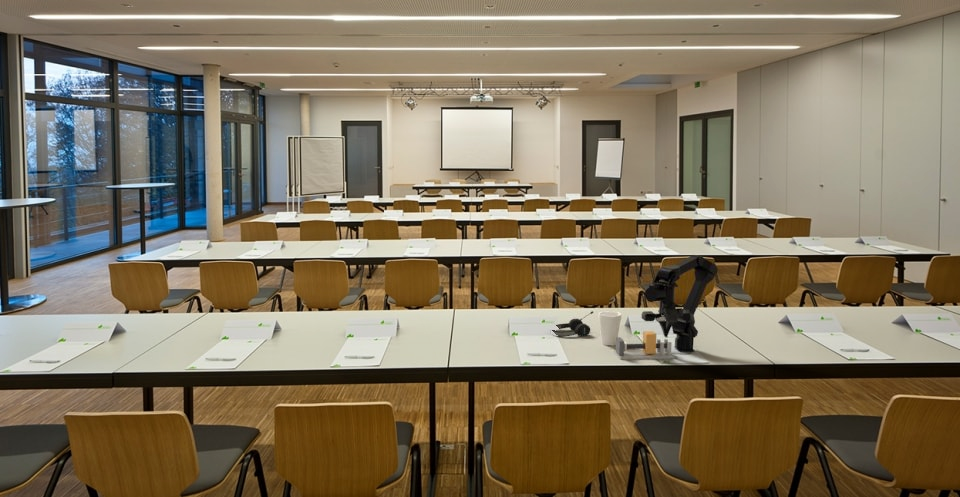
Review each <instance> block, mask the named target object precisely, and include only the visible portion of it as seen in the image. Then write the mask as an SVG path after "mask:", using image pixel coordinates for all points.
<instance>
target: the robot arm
mask: <svg viewBox="0 0 960 497" xmlns="http://www.w3.org/2000/svg"><path fill="white" fill-rule="evenodd" d="M693 269H694V271H693V272H694V281H693V284H692V286H691V289H690V291H689V293H688V296H687V298H686V300H685V302H684V304H683V307H676V301H675V292H676V291H675V290H676V288H677V287H679V284H677V283H676V282H678V281H679V280H680V279H681V277H682V275H684V274H686V273H687V272H689V271H691V270H693ZM717 273H718V267H717V264H716V263H715V262H711V261H710V260H708V259H707V258H706V259H705V258H704V257H703V256H702V255H696V254H691V255H689V257H687V258H685V259H683V260H681V261H679V262H677V263H676V264H672V265H666V266H665V265H664V266H662V267H661V266H660V268H659V269H658V270H657V273H656V274H655V277H654V279H653V281H652V283H651V284H648V288H646V289H645V292H644V297H645V300H646V301H648V302H649V303H655V302H658V303H659V304H658V306H659V307H658V311H657V312H658V313H655V312H653V311H651V310H650V311H649V310H648V311H646V310H645V311H642V313H641V319H642V320H643V321H644V322H654V321H656V322H657V323H659V325H660V328H661V331H662V333H663V336H664V337H665V338H668V336H669V333H670V331H671V329H672V333H673V335H676V337H675V338H674V349H675V350H677V351H678V352H695V349H694V341H695V340H694V338H696V337H697V336H698V334H699V331H698V329H697V328H696V326H695V323H696V320H695V313H696V310H697V309H698V306H699V304H700V302H701V299H702V297H703V295H704V292H705V289H706V288H707V285H708V284H709V283H711V282H712V281H713V280H714V278H715V277H716V275H717Z"/></svg>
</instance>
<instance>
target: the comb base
mask: <svg viewBox="0 0 960 497" xmlns="http://www.w3.org/2000/svg"><path fill="white" fill-rule="evenodd" d="M624 342H625V340H624V339H623V338H621V337H620V336H618V337H616V345H615V349H614V350H613V352H614V354H615V355H616V356H617V358H619V360H655V359H656V360H659V359H661V360H664V359H668V360H669V359H676V356H675V355H674V354H673V353H672V342H671V341H669V340H668V339H667V338H663V341H661V339H660V338H656V343H660V348H656V354H645V353H644V352H643V351H642V349H627V351H624ZM664 343H668V345H667V348H664Z"/></svg>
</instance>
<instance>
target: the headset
mask: <svg viewBox="0 0 960 497" xmlns="http://www.w3.org/2000/svg"><path fill="white" fill-rule="evenodd" d="M590 314H591V315H592V314H594V311H591V312H590V313H589V314H587V315H585V316H584V317H583V318H573V319H571V320H569V322H568V323H567V322H566V323H559V324H555V325H556V326H557V327H558V328H559V330H556V331H555V330H552V331H553V332H554V333H555V334H556V335H558V336H559V337H560V338H564V337H571V336H574V335H575V336H576V335H578V336H579V337H587V336H588V335H589V334H590V333H591V327H590V326H589V325H587V323H583V321H582V320H583V319H584V318H586V317H587V316H589V315H590ZM568 328H569V329H570V330H564V331H561V330H562V329H568Z"/></svg>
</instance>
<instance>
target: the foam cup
mask: <svg viewBox="0 0 960 497" xmlns="http://www.w3.org/2000/svg"><path fill="white" fill-rule="evenodd" d="M621 320H622V313H621V312H618V311H612V310H611V311H607V310H606V311H605V310H604V311H600V312H598V324H599V332H600V341H601V344H602V345H603V344H604V346H608V345H612V346H616V337H619V332H620V326H621Z"/></svg>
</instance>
